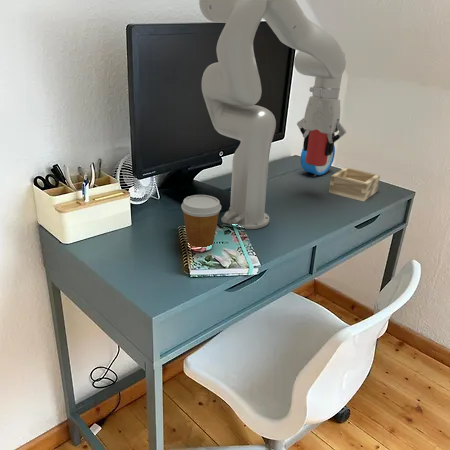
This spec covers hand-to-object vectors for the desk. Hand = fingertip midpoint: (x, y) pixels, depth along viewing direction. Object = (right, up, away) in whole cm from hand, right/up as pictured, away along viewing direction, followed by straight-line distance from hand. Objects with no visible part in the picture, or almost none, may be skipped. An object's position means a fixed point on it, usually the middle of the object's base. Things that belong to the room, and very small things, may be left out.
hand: (317, 152), depth 153 cm
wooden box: (+14, -12, +10) cm, 21 cm away
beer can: (0, -4, +2) cm, 4 cm away
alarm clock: (+4, -4, +26) cm, 27 cm away
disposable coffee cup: (-35, -28, -31) cm, 54 cm away
